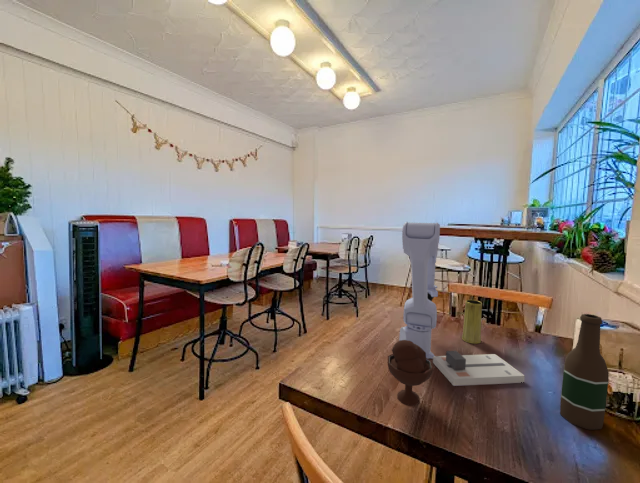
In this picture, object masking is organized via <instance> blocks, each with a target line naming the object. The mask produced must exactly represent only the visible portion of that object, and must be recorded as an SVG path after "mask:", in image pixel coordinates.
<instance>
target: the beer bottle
mask: <svg viewBox="0 0 640 483" xmlns="http://www.w3.org/2000/svg"><path fill="white" fill-rule="evenodd" d="M579 319H580V321H581V324H580V328H579V333H578V338H577V339H578V340H577V342H576V345H575V347H574V348H572V349H571V350H569V352H568V353H567V354H566V357H565V359H564V365H563V374H562V383H561V391H560V393H561V394H560V405H559V406H560V408H559V414H560V416H561V417H563V418H564V419H565V420H566V421H568V422H569V423H570V424H571V425H574V426H577V427H579V428H580V427H581V428H582V429H586V430H589V431H592V430H593V431H594V430H596V431H597V430H602V429H603V425H604V421H605V414H606V404H607V398H608V389H609V380H610V379H609V376H610V374H609V373H610V372H609V368H608V365H607V362H606V360H605V359H604V357H603V355H602V354H601V350H600V347H601V346H600V345H601V325H603V320H602V319H603V318H602V317H600V316H599V315H596V314H590V313H582V314H581V316H580V318H579Z"/></svg>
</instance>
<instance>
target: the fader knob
mask: <svg viewBox="0 0 640 483" xmlns="http://www.w3.org/2000/svg"><path fill="white" fill-rule="evenodd" d="M445 353H446V354H445V356H446V361H447V362H448V363H449V364H450V365H451V366H452V367H453V368H454V369H455V370H465V365H466V359H465V358H464V357H463V356H462V355H463V354H461V353H460V352H458V350H446V352H445Z"/></svg>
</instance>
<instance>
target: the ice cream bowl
mask: <svg viewBox="0 0 640 483" xmlns="http://www.w3.org/2000/svg"><path fill="white" fill-rule="evenodd" d="M391 351H392V353H391V354H389V355H387V368H388V370H389V373H390V374H391V375H392V376H393V377H394V378H395V380H396V381H398V382H400V383H401V384H403V385H405V386H404V389H401V390H399V391H398V392H397V393H396V397H397V399H398V401H399V402H400V403H402V404H405V405H408V406H416V405H417V404H419V403H420V397H419V396H420V395H419V394H417V393H416V391H413V386H416V387H417V386H420V385H422V384H423V383H425V382H426V381H428V380H429V379H430V377H431V376H432V375H433V372H434V363H433V360H430V359H427V358H426V352H425V351H424V350H423V349H422V348H421V347H419V346H418V345H416V344H414V343H413V342H411V341H409V340H408V341H407V340H401V341H399V340H398V341H396V342H395V343H394V345H393V346H392V348H391Z"/></svg>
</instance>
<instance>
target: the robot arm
mask: <svg viewBox="0 0 640 483" xmlns="http://www.w3.org/2000/svg"><path fill="white" fill-rule="evenodd" d="M440 232H441V225H440V223H439V222H408V221H405V222H404V223H403V224H402V233H401V234H402V235H401V236H402V237H401V239H402V249H403V254H405V255H406V256H408V257H409V261H410V265H411V268H410V269H411V270H410V271H411V291H412V292H411V294H412V295H411V296H412V297H410V298H408V299H406V301H405V302H404V307H403V315H402V316H403V320H402V321H403V322H404V324H405V325H406V326H402V327H400V329H399V336H398V338H399V340H398V341H401V340H407V341H408V340H409V341H411V342H413V343H414V344H416V345H418V346H419V347H421V348H422V349H423V350H424V351H425V352H426V358H427V359H429V360H430V359H432V360H433V356H435V354H434V353H433V352H432V351H431V350H432V348H431V346H432V330H433V329H434V330H435V328H437V321H438V320H437V318H438V316H437V315H438V311H437V305H436V303H435V302H433V299H434V298H438V296H439V291H438V290H437V289H438V285H435V282H436V279H435V278H436V263H437V257H438V250H439V243H440V235H441V233H440Z"/></svg>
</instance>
